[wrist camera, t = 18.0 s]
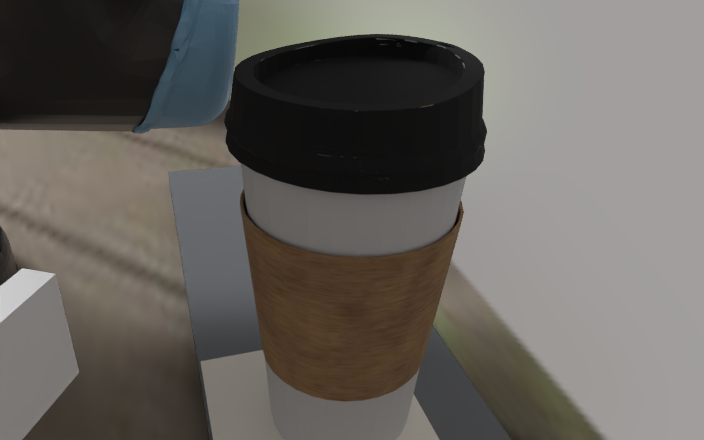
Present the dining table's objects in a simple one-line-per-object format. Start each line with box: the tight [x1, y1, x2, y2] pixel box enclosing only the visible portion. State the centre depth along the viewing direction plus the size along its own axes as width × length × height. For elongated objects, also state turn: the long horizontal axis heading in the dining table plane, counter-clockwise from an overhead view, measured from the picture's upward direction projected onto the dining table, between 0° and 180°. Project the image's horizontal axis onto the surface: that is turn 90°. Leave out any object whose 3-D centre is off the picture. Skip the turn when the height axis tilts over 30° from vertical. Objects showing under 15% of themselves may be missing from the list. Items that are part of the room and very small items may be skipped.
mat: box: [168, 166, 512, 440], centre depth 34 cm, size 32×12×1 cm, turn 19°
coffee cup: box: [224, 34, 487, 440], centre depth 22 cm, size 8×8×15 cm
